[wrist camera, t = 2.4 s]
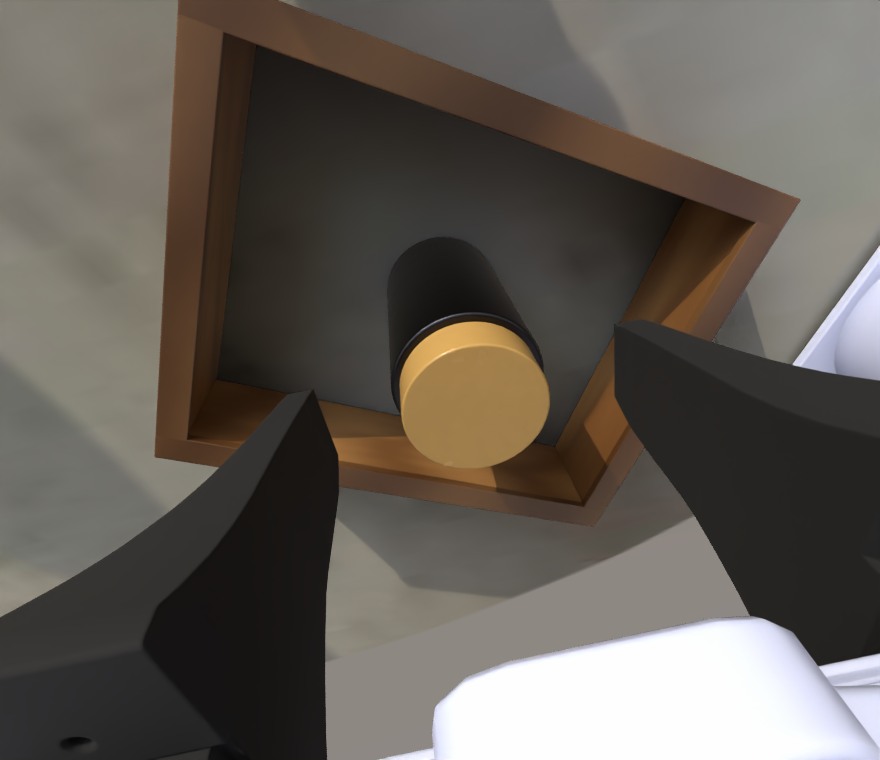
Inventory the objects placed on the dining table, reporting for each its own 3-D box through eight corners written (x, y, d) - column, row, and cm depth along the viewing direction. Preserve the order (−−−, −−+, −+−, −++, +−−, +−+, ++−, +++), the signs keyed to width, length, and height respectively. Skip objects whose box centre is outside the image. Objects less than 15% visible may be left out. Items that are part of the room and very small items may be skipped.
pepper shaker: (509, 253, 17) (587, 358, 11) (473, 348, 19) (521, 487, 13) (403, 222, 16) (419, 316, 10) (375, 325, 18) (373, 461, 12)
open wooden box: (720, 176, 17) (802, 199, 14) (563, 463, 23) (594, 527, 19) (229, -9, 13) (179, -38, 10) (192, 392, 19) (154, 457, 16)
